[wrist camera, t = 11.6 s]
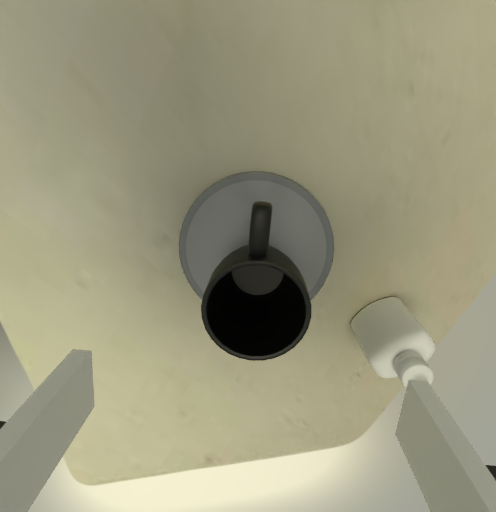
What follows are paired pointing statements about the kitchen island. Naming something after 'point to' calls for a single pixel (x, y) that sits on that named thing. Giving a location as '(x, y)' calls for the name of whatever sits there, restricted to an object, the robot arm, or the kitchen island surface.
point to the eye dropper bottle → (394, 341)
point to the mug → (256, 297)
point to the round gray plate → (238, 227)
